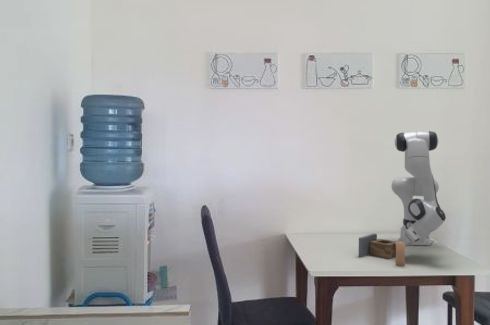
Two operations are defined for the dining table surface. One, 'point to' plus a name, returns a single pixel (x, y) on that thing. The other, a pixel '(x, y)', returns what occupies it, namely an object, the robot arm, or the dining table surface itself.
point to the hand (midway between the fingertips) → (398, 248)
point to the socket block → (383, 248)
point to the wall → (366, 244)
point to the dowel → (400, 253)
